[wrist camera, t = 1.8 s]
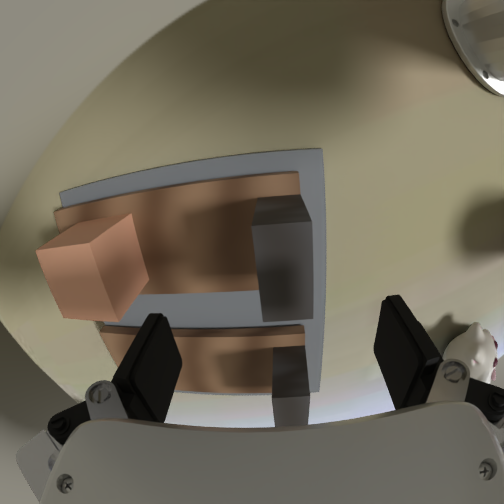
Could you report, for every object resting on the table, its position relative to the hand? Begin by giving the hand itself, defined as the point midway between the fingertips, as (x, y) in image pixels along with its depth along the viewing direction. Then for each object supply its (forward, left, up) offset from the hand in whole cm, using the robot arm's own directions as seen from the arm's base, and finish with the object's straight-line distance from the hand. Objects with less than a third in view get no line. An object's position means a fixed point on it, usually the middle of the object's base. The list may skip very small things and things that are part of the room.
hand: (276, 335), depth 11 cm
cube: (+14, 0, -10) cm, 17 cm away
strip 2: (+9, +14, -11) cm, 20 cm away
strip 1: (+9, 0, -11) cm, 14 cm away
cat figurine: (-24, +19, -13) cm, 33 cm away
